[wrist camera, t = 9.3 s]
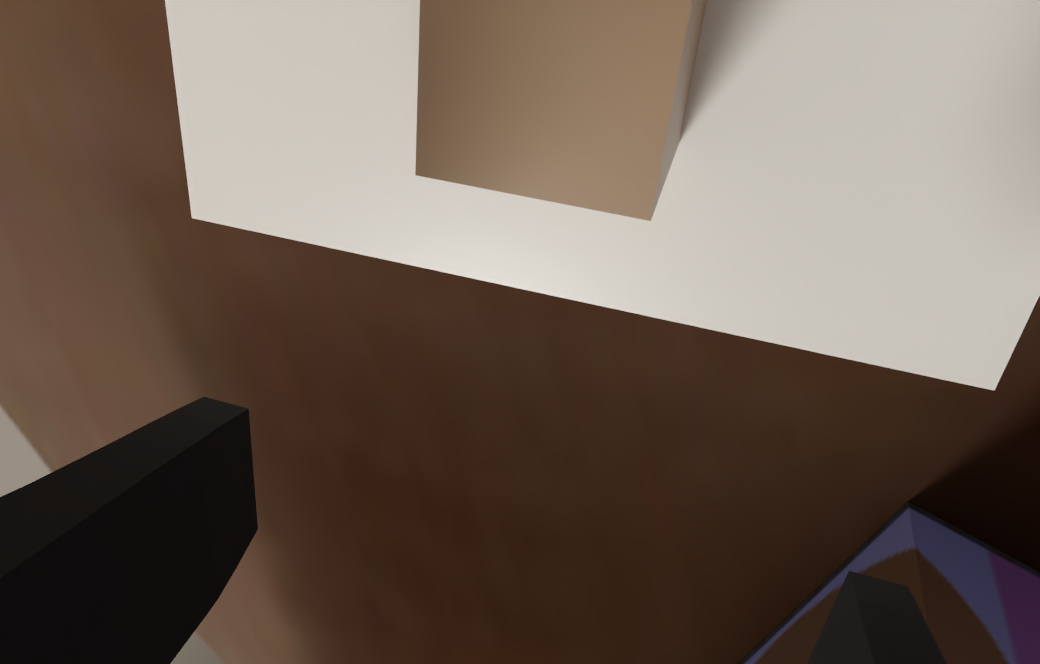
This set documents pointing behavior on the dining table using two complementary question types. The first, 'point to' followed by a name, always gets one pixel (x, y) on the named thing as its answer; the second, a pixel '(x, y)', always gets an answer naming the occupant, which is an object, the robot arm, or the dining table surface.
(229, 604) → the dining table surface
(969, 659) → the cereal box
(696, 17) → the lid
